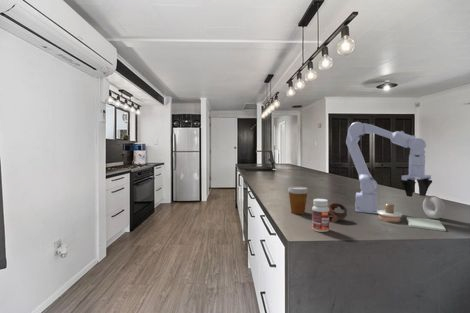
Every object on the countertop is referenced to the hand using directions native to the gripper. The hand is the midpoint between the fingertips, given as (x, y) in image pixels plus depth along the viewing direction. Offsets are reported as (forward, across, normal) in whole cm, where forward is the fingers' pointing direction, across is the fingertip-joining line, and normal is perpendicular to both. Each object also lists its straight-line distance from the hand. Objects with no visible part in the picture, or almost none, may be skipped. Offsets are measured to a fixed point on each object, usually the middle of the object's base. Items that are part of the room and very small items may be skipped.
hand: (415, 196), depth 110 cm
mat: (+10, -7, -9) cm, 15 cm away
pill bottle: (+10, -51, -3) cm, 52 cm away
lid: (+7, -14, 0) cm, 16 cm away
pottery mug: (+10, -38, +8) cm, 40 cm away
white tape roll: (+10, +6, -4) cm, 12 cm away
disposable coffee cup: (+10, -46, +22) cm, 52 cm away
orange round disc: (+10, -14, 0) cm, 17 cm away
